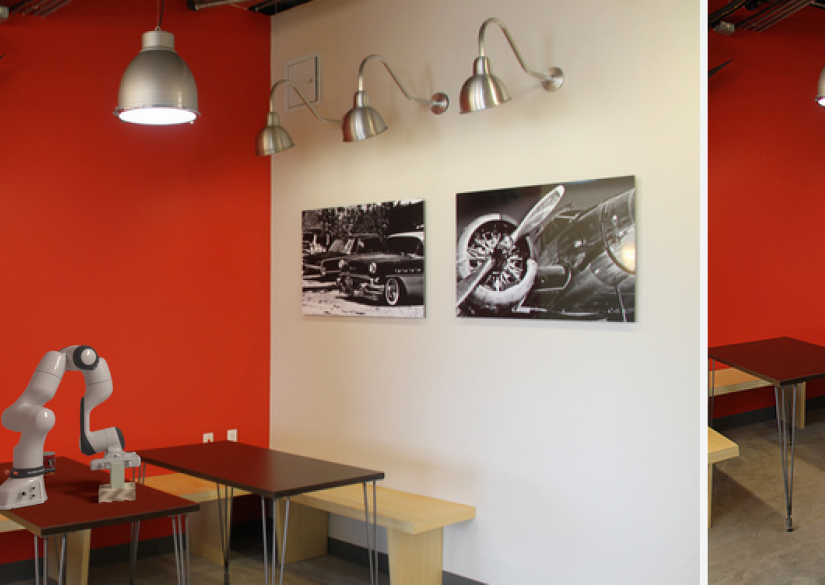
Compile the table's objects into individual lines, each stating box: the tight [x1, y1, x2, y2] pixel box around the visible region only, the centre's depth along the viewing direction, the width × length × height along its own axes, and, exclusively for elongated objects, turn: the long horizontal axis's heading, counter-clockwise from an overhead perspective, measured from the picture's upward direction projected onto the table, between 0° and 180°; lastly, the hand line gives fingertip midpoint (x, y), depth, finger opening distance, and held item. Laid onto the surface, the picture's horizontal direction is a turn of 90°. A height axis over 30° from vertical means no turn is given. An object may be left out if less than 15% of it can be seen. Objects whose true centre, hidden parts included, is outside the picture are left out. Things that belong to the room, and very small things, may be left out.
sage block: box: [109, 461, 125, 489], centre depth 331 cm, size 5×5×10 cm
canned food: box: [43, 451, 56, 478], centre depth 379 cm, size 8×8×11 cm
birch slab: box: [98, 481, 136, 504], centre depth 331 cm, size 14×14×5 cm
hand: (116, 466), depth 337 cm, fingers open, 8 cm apart
